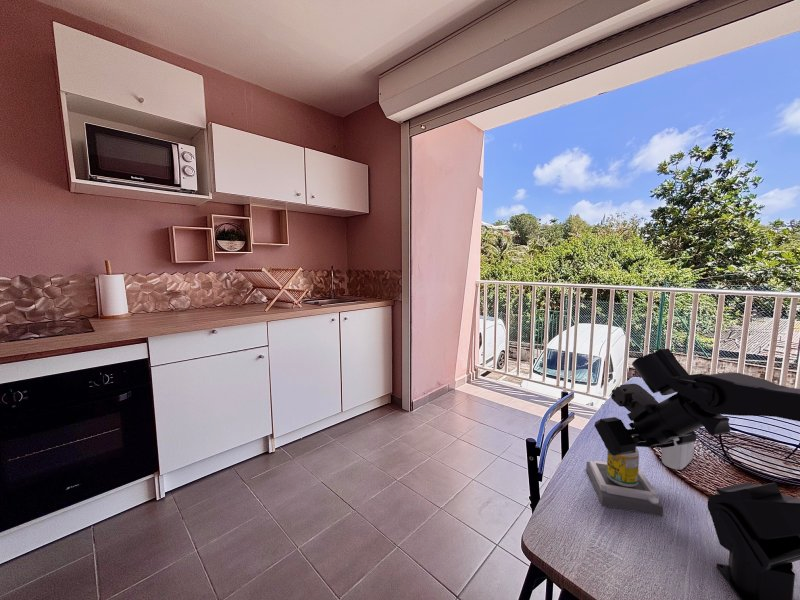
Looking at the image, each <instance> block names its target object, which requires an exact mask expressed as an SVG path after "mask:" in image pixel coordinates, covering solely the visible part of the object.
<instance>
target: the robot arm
mask: <svg viewBox="0 0 800 600" xmlns="http://www.w3.org/2000/svg"><path fill="white" fill-rule="evenodd" d="M631 365H632V367H633V368H634V369H635V371H636V372H637V374H638V375H639V376H640V378H641V379H642V380H643V382H644V383H645V384H646V386H647V388H648V389H649V390H650V392H651V393H652V394H656V393H659V394H660V395H661V396H667V395H670V396H669V397H668V398H666V399H664V400H662V401H660V402H658V401H657V400H656V398H655V396H653V395H652V394H650V393H649V392H648V391H647V390H646V389H645V388H643V387H642V386H641V385H640V384H638V383H625V384H621V385H619V386H616V387H615V388H614V389H612V390H611V394H610V398H611V400H612V401H614V403H616V405H618V407H624V408H625V409H626V410H627V411H628V412H629V413H628V414H626V415H627V417H628V419H629V420H630V421H631V422H629V423H628V426H629V427H630V428H627V427H626V425H625V424H624V422H623V421H622V419H621V418H618V417H615V416H612V417H606V418H600V419H599V420H597V421H595V422H594V428H595V430H596V431H597V433H598V435H599V437H600V438H601V440H602V442H603V444H604V446H605V449H606V450H607V452H608V451H609V453H610V454H612V455H613V456H616V455H622V454H629V453H635V452H636V451H635V450H636V448H638V447H639V448H640V447H641V448H657V449H659V448H661V449H662V448H666V447H672V446H674V445H675V444H674V440H673V439H675V438H677V437H678V438H679V440H678V441H676V443H677V445H684V444H689V443H692V442H694V443H695V442H696V441H697V433H696V432H694V430H695V431H696V430H698V429H701V428H702V427H704V429H705V430H706V431H707V432H708V434H709V435H711V436H718V435H724V434H730V433H731V426H730V424H729V422H730V418H729V417H728V416H736V417H737V416H738V417H739V416H741V417H742V416H743V417H746V416H747V417H775V418H781V419H784V420H785V419H786V420H791V421H795V422H800V388H797V387H789V386H785V385H781V384H778V383H775V382H772V381H769V380H768V379H764V378H762V377H761V378H760V377H756V376H753V375H749V374H744V373H740V372H734V371H733V372H721V373H720V372H719V373H711V374H705V373H696V374H694V373H693V374H689V372H688V371H687V370H686V369H685V367H683V365H682V364H681V363H680V361H679V360H678V359H677V358H676V357H675V355H674V353H673V352H672V351H671V349H670V348H660V349H658V350H656V351H655V352H651V353H647V354H646V355H643V356H641V357H640V356H639V357H637V358H636V359H635V360H633V361H632V364H631ZM672 394H673V395H672ZM724 415H726V416H724ZM727 415H728V416H727ZM632 436H634V437H632ZM715 491H716V492H717V493H715V494H710V495H709V496H708V498H707V499H708V500H707V503H706V504H707V509H708V513H709V514H710V516H711V520H712V524H713V526H714V531H715V533H716V537H717V539H718V540H717V541H718V543H719V545H720V546H721V547H723V548H724V549H726V550H727V551H729V556H728V565H727V564H723V563H719V562H718V563H716V564H715V565H716V566H715V567H716V569H717V570H718V571H719V573H720V574H721V576H722V577H723V578H724V579H725V581H726V583H727V584H728V585H729V587H730V588H731V589H732V590H733V592H734V593H735V595H736V596H737V597H738V599H739V600H794V591H795V590H794V588H795V580H796V574H795V572H794V571H793V569H794V565H793V563H795V562H797V561H800V497H794V496H791V495H787V494H785V493H782V492H781V490H780V488H779V486H778V484H777V482H771V483H766V484H755V483H752V482H749V481H748V482H743V483H738V484H734V485H727V486H724V487H719V488H716V489H715Z"/></svg>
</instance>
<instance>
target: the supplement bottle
mask: <svg viewBox="0 0 800 600" xmlns="http://www.w3.org/2000/svg"><path fill="white" fill-rule="evenodd" d="M632 437H634V436H632ZM635 451H636V452H635V453H629V454H622V455H616V456H613V455H612V454H610V453H609V451H608V450H607V451H606V452H607V455H606V456H607V458H606V460H607V461H606V462H607V476H608V478H609V479H610V480H611V481H613V482H614V483H616V484H619V485H621V486H625V487H635V486H636V485H637V484H638V468H639V464H640V461H639V460H640V452H639V449H638V447H636V450H635ZM639 469H640V468H639Z"/></svg>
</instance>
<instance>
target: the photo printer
mask: <svg viewBox="0 0 800 600" xmlns="http://www.w3.org/2000/svg"><path fill="white" fill-rule="evenodd" d="M695 431H696V430H694V432H695ZM695 433H696V432H695ZM673 440H674V444H675V445H674V446H672V447H666V448H661V463H662V464H663V465H664V466H665V467H667V468H670V469H672V470H676V471H678V470H683V469H684V468H686V467H687V466H688V465H689V464H690V463H691V462H692V461H693V458H694V454H695V453H694V450H695V449H694V448H695V441H694V442H692V443H689V444H684V445H677V443H676V441H678V440H679V438H678V437H677V438H675V439H673Z"/></svg>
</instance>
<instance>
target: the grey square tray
mask: <svg viewBox="0 0 800 600" xmlns="http://www.w3.org/2000/svg"><path fill="white" fill-rule="evenodd" d="M586 472H587V475H588V477H589V479H590V481H591V484H592V486H593V488H594V491H595V492H596V495H597V497H598V499H599V502H600V504H601V506H602V507H608V508H613V509H614V508H615V509H619V510H625V511H629V512H636V513H641V514H646V515H652V516H657V517H664V505H663V504H662V502H661V501H660V500H659V494H658V492H657V491H656V490H655V488H654V486H653V485H652V484H651V483H650V481H649V480H648V478H647V477H646V476H645V474H644V473H643V471H642V470H641V468H638V484H637V485H636V486H635V487H625V486H621V485H619V484H616V483H614V482H613V481H611V480H610V479H609V478H608V476H607V461H599V460H593V461H592V460H589V461H586Z"/></svg>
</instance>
